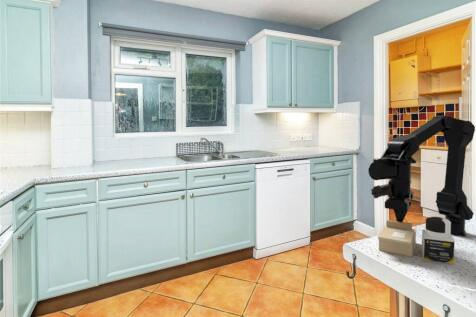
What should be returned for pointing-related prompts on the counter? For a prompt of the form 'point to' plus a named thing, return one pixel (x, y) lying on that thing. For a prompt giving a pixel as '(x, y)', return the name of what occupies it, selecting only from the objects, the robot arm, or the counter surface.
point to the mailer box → (398, 246)
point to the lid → (397, 232)
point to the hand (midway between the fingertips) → (399, 224)
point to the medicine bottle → (438, 240)
